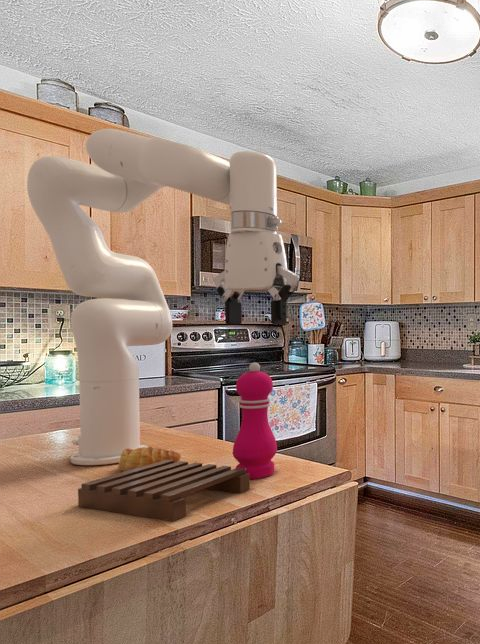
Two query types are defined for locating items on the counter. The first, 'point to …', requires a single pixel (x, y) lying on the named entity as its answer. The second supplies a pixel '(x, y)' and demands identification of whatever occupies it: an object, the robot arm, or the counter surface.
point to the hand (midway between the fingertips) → (255, 324)
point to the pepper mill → (255, 424)
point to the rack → (159, 488)
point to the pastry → (145, 457)
